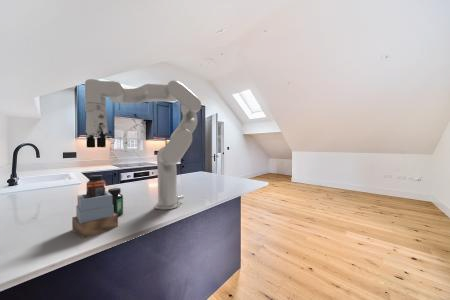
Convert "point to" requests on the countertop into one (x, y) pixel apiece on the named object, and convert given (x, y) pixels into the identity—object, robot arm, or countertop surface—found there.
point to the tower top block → (94, 207)
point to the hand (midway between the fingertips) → (96, 147)
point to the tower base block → (94, 225)
